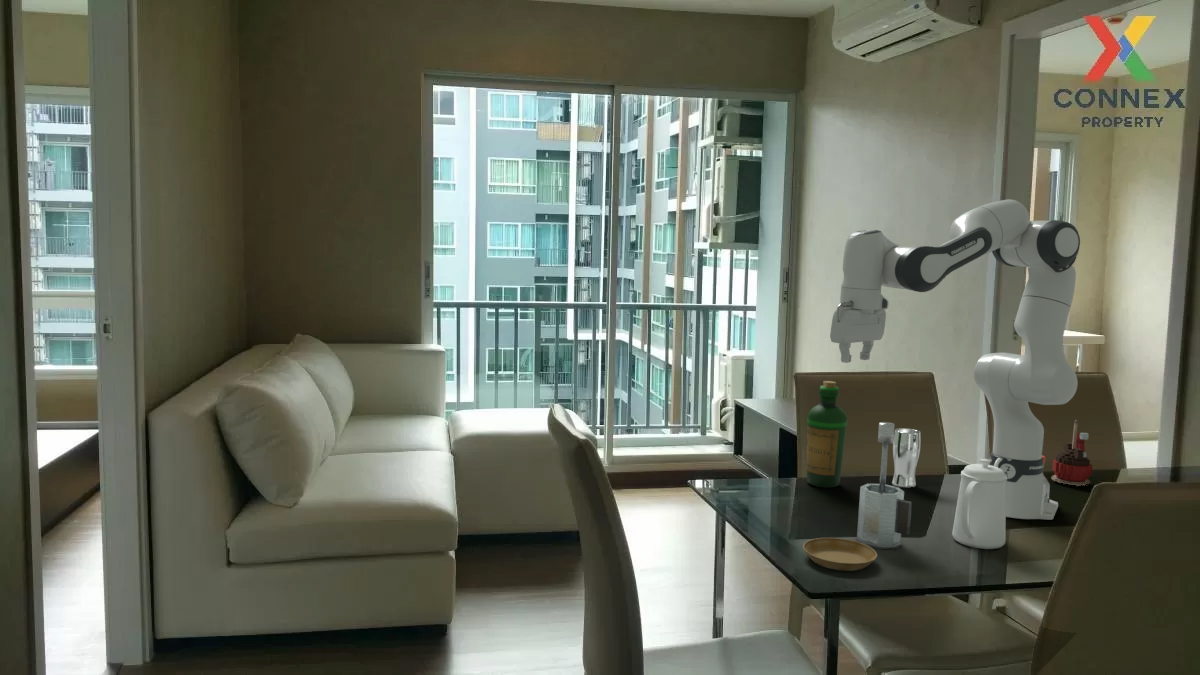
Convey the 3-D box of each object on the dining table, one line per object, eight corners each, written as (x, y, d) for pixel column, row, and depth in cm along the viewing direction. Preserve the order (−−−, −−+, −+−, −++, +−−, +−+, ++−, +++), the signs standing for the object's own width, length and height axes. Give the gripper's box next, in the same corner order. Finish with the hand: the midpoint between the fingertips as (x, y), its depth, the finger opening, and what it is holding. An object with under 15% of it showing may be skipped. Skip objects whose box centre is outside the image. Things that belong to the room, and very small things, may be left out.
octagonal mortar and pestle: (868, 532, 202) (872, 480, 201) (916, 545, 195) (920, 491, 193) (849, 541, 195) (852, 488, 194) (897, 555, 188) (901, 499, 187)
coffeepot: (1020, 534, 205) (1027, 453, 203) (987, 562, 186) (995, 474, 183) (971, 523, 212) (977, 445, 209) (934, 549, 192) (941, 464, 190)
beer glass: (895, 479, 248) (898, 426, 247) (920, 484, 244) (924, 430, 243) (886, 485, 243) (890, 430, 241) (912, 489, 239) (916, 434, 237)
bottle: (794, 480, 244) (800, 379, 241) (826, 477, 248) (833, 378, 245) (819, 491, 234) (825, 386, 231) (851, 488, 239) (858, 384, 235)
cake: (1046, 477, 257) (1051, 415, 255) (1080, 479, 255) (1086, 417, 253) (1059, 487, 246) (1065, 423, 244) (1095, 489, 245) (1102, 425, 243)
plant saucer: (891, 571, 179) (892, 558, 179) (829, 578, 174) (829, 565, 174) (848, 546, 193) (848, 535, 193) (788, 552, 188) (789, 540, 188)
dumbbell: (875, 494, 198) (880, 420, 196) (898, 500, 195) (904, 424, 193) (864, 499, 194) (869, 423, 192) (887, 505, 191) (893, 427, 189)
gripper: (851, 302, 194) (847, 365, 196) (892, 301, 209) (887, 359, 211) (825, 300, 198) (821, 362, 200) (866, 299, 214) (862, 356, 215)
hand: (855, 361), depth 205 cm, fingers open, 8 cm apart
